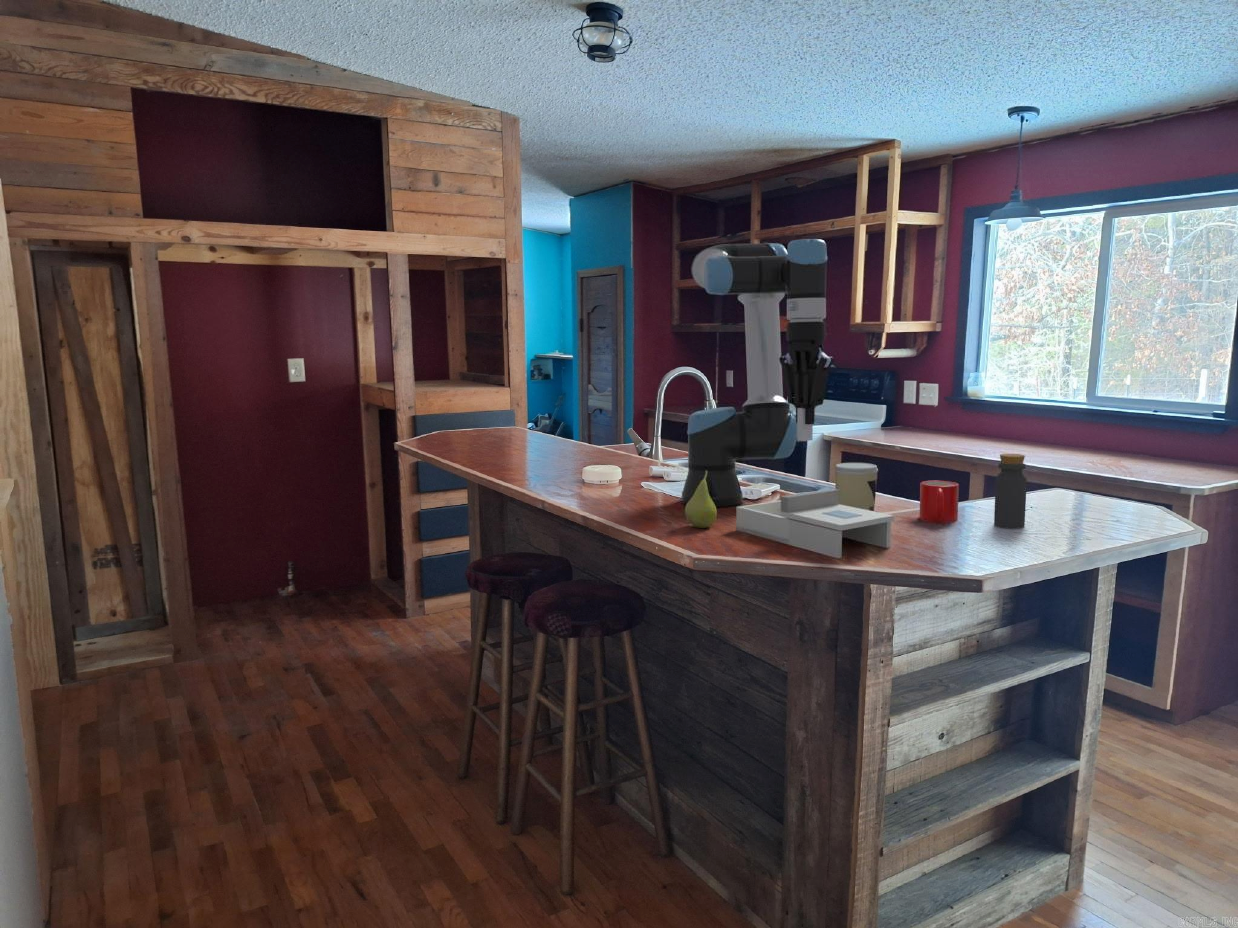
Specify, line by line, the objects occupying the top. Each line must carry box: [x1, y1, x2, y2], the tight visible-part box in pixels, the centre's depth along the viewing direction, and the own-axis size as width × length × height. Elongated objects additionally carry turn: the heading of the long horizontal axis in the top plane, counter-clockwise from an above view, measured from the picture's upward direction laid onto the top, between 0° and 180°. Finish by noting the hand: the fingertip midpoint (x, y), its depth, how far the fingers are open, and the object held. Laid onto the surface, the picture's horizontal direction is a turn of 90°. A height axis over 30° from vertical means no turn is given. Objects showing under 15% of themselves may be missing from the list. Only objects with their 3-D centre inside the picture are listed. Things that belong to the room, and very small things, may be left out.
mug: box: [919, 480, 960, 523], centre depth 182 cm, size 8×12×8 cm, turn 164°
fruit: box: [684, 470, 718, 529], centre depth 181 cm, size 7×8×12 cm
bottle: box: [993, 453, 1028, 529], centre depth 175 cm, size 6×6×15 cm
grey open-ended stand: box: [736, 499, 892, 559], centre depth 169 cm, size 29×14×5 cm, turn 31°
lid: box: [780, 488, 895, 531], centre depth 162 cm, size 16×14×4 cm
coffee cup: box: [833, 462, 879, 512], centre depth 185 cm, size 9×9×12 cm
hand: (804, 440), depth 167 cm, fingers closed
